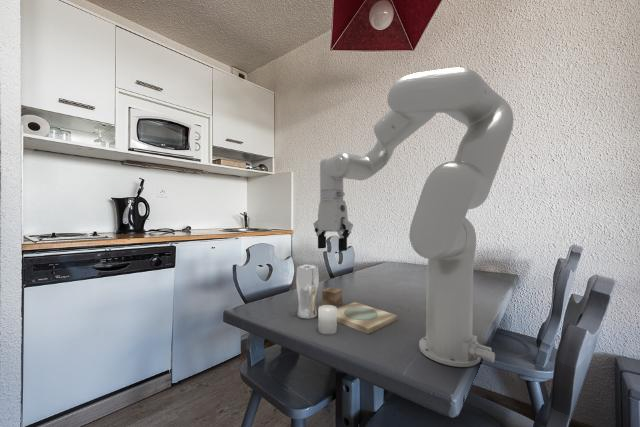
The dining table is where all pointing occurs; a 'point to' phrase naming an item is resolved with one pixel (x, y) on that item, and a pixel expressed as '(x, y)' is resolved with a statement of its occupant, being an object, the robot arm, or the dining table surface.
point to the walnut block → (332, 296)
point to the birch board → (364, 317)
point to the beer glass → (307, 290)
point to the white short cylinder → (327, 319)
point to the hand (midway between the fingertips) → (332, 249)
